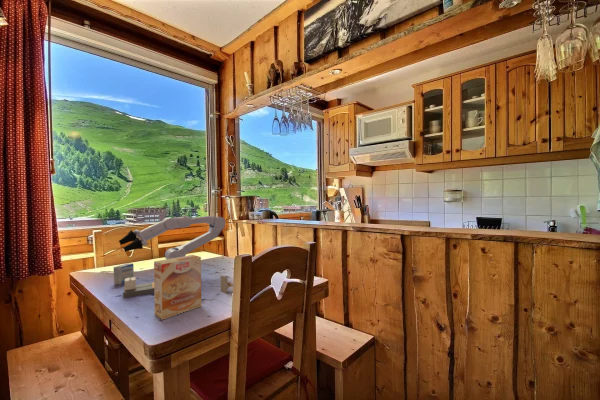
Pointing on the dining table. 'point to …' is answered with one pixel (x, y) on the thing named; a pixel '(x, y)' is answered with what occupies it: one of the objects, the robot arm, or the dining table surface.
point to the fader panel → (139, 290)
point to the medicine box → (123, 273)
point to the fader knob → (130, 283)
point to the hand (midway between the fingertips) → (121, 246)
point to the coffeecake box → (177, 285)
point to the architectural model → (225, 284)
